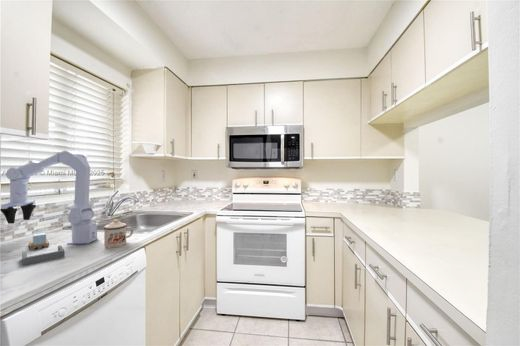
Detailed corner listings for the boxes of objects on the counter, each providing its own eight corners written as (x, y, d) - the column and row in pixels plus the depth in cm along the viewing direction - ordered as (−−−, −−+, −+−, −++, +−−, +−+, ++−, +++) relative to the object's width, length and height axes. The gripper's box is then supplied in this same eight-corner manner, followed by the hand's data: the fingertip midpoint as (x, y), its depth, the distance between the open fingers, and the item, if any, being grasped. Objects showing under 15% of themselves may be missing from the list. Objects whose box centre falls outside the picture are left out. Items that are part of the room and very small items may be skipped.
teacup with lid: (105, 249, 100) (105, 223, 100) (102, 244, 107) (101, 219, 107) (135, 243, 109) (135, 219, 109) (130, 239, 115) (130, 216, 115)
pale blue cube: (32, 243, 103) (32, 234, 103) (45, 241, 106) (44, 232, 106) (33, 245, 100) (33, 236, 100) (46, 243, 103) (45, 234, 103)
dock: (22, 258, 89) (22, 252, 89) (61, 251, 98) (61, 245, 98) (23, 265, 83) (23, 258, 83) (64, 256, 92) (64, 250, 92)
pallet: (29, 245, 105) (29, 241, 105) (46, 242, 110) (46, 238, 110) (30, 250, 99) (30, 246, 99) (49, 247, 104) (49, 242, 104)
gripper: (24, 191, 115) (24, 218, 115) (-7, 194, 101) (-7, 225, 101) (39, 191, 116) (39, 218, 116) (10, 194, 101) (10, 225, 102)
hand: (19, 221), depth 109 cm, fingers open, 7 cm apart
